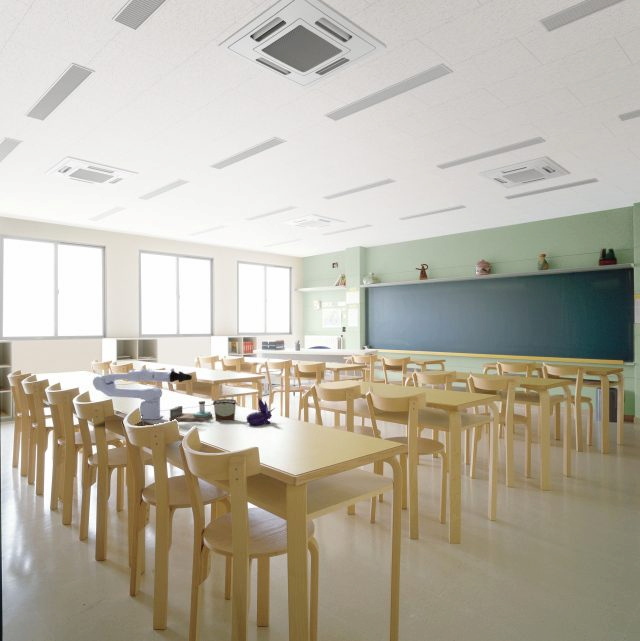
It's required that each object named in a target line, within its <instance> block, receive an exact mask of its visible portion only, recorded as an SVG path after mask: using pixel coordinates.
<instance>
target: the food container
mask: <svg viewBox="0 0 640 641" xmlns="http://www.w3.org/2000/svg"><path fill="white" fill-rule="evenodd" d="M212 405H213V408H214V417H215V418H214V419H215V421H216V422H217V421H218V422H235V418H236V416H235V415H236V406H238V403H237V400H236V399H234V398H232V399H230V398H223V399H221V398H220V399H216V400H213V402H212Z"/></svg>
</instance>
